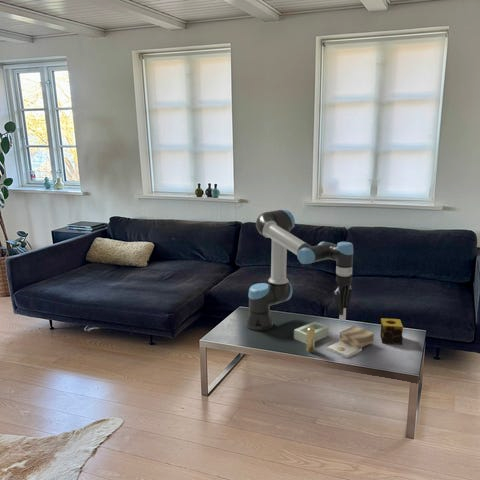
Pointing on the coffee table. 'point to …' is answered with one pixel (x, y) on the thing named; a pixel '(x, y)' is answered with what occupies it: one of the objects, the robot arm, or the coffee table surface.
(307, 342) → the peg
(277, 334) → the coffee table surface
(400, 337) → the candle
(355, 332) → the tan layered block
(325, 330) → the socket board
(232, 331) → the coffee table surface
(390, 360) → the coffee table surface
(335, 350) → the board
